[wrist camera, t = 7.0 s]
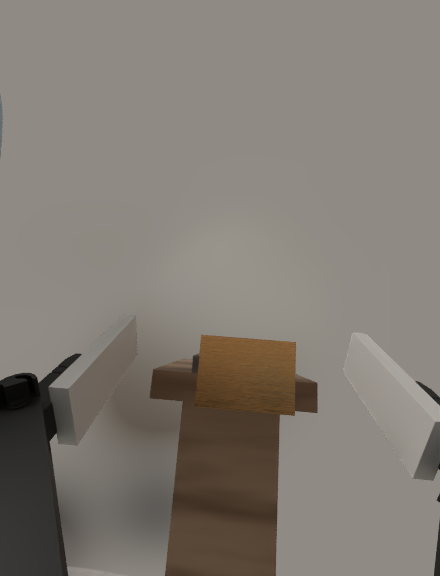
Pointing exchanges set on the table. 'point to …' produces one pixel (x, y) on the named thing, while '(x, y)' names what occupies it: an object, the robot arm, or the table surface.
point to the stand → (223, 480)
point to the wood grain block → (246, 375)
